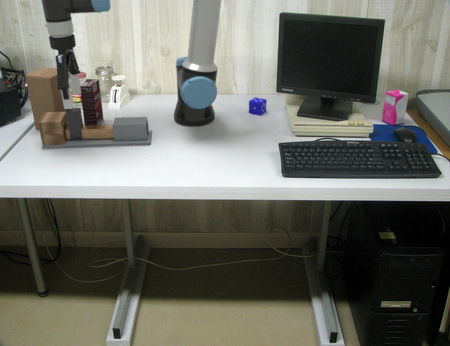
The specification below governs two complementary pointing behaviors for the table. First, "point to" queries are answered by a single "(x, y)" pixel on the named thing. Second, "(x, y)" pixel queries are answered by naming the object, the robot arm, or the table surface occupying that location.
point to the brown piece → (84, 128)
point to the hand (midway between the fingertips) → (73, 100)
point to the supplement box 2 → (394, 107)
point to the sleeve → (130, 129)
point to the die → (257, 106)
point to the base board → (100, 143)
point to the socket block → (53, 128)
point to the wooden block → (44, 93)
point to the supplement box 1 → (91, 102)
